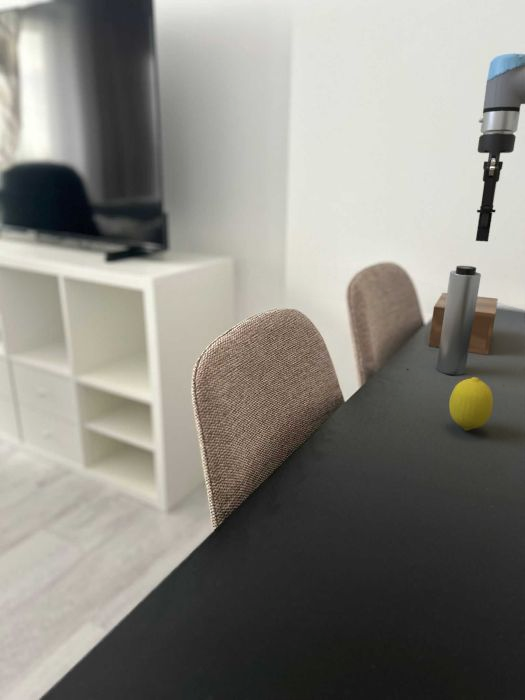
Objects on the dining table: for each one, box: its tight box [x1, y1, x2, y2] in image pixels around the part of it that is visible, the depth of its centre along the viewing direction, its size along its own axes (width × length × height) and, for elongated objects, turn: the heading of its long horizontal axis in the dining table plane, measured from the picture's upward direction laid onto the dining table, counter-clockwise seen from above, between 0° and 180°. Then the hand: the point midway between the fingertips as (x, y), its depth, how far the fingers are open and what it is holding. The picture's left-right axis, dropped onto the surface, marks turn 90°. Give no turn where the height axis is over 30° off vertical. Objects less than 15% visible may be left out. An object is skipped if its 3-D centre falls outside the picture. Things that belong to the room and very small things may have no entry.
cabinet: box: [428, 292, 498, 356], centre depth 110 cm, size 15×12×9 cm
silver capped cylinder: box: [436, 265, 482, 376], centre depth 91 cm, size 5×5×19 cm
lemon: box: [448, 376, 494, 432], centre depth 71 cm, size 6×6×8 cm
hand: (481, 240), depth 122 cm, fingers closed
